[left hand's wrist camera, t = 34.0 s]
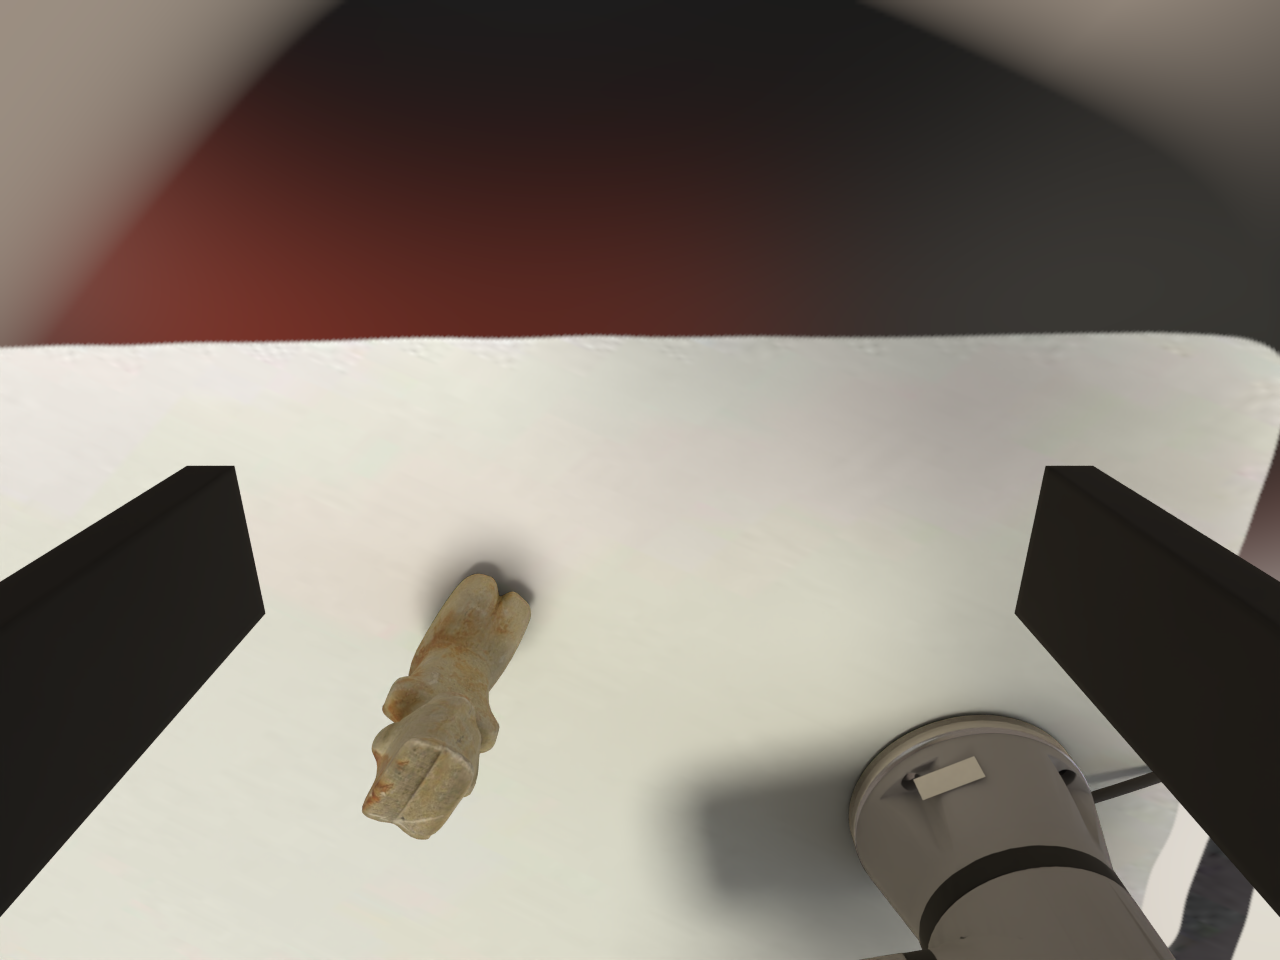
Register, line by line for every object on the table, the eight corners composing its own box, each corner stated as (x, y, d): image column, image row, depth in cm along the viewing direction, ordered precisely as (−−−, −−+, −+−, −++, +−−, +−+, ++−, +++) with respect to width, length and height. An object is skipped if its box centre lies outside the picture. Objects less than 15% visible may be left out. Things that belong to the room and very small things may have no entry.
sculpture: (552, 605, 45) (512, 795, 31) (484, 683, 47) (418, 895, 33) (470, 550, 44) (390, 723, 30) (404, 634, 46) (300, 832, 32)
